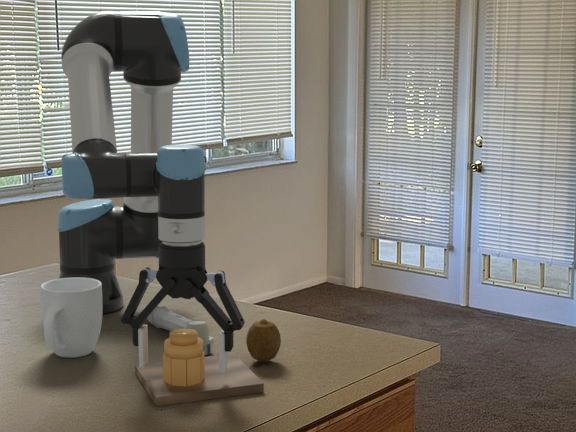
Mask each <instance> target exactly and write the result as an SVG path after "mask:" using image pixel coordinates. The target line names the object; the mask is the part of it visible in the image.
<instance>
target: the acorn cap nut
mask: <svg viewBox="0 0 576 432" xmlns="http://www.w3.org/2000/svg"><path fill="white" fill-rule="evenodd" d="M163 344H164V347H163V348H164V351H163V354H162V362H163V380H164V381H165V382H166V383H168V384H170V385H173V386H191V385H195V384H199V383H201V382H202V381H203V379H204V378H205V359H204V357H205V355H204V351H203V340H202V339H201V338H199V337H198V332H197V331H196V330H193V329H176V330H173V331H169V337H168V338H166V339H165V340H164V341H163Z"/></svg>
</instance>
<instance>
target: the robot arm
mask: <svg viewBox="0 0 576 432" xmlns="http://www.w3.org/2000/svg"><path fill="white" fill-rule="evenodd" d="M60 61H61V67H62V72H63V73H64V74H65V76H66V77H67V84H68V100H69V116H70V117H69V118H70V134H71V135H70V137H71V152H72V153H65V154H63V155H62V156H61V180H62V183H61V184H62V192H63V196H64V197H66V198H68V199H77V200H78V199H83V201H81V200H80V201H78V202H73V203H71V204H68V205H65V206H64V207H62V208H61V209H60V210H59V212H58V220H57V221H58V222H57V223H58V226H57V232H58V242H59V243H58V244H59V246H58V247H59V248H58V249H59V250H58V251H59V276H58V279H61V278H73V277H80V278H92V279H96V280H99V281H100V282H101V284H102V305H103V310H102V313H103V314H102V315H104V314H108V313H110V314H111V313H114V312H116V311H118V310H120V309H122V308H123V306H124V295H123V290H122V289H121V285H120V282H119V280H118V277H117V274H116V272H115V271H116V270H115V260H121V259H123V260H124V259H125V260H127V259H128V260H129V259H147V258H149V259H150V258H152V259H153V258H155V259H158V270H155V269H151V268H150V267H148V266H147V267H144V268H143V269H141V270H140V271H139V275H138V283H137V285H136V288H135V290H134V292H133V294H132V295H131V298H130V299H129V302H128V304H127V307H126V308H125V311H124V312H123V314H122V317H121V319H120V322H121V323H122V324H123V325H129V326H130V327H131V328H132V344H133V346H134V347H138V365H139V367H144V366H145V365H146V364H148V363H149V335H148V331H149V330H148V329H149V328H148V324H144V322H145V321H147V317H148V316H149V315H150V314H151V313H152V311H153V310H154V309H155V308H156V307H157V306H159V305H160V303H162V301H163V300H164V299H165V298H166V297H167V296H169V297H171V299H180V298H181V299H185V300H191V299H195V300H196V301H197V302H198V303H199V304H201V306H203V308H204V310H206V311H207V313H208V314H209V315H210V316H211V318H212V319H213V320H214V321H215V322H216V324H217V325H218V326H219V328H220V329H221V331H220V332H219V334H218V338H219V339H218V340H219V341H218V342H219V343H218V349H219V352H218V353H219V354H218V355H219V372H225V370H226V368H227V354H228V353H229V352H230V353H231V351H232V350H233V348H234V332H235V331H240V330H242V328H243V327H244V325H245V319H244V318H243V315H242V313H241V311H240V309H239V308H238V305H237V303H236V301H235V299H234V297H233V295H232V293H231V291H230V288H229V287H228V285H227V282H226V273H225V271H223V270H219V271H218V272H210V273H209V272H207V269H206V243H205V242H204V241H203V240H205V238H206V216H205V212H206V210H205V198H206V197H205V196H206V195H205V189H206V188H205V178H206V176H205V174H206V170H207V169H206V167H207V165H206V164H205V153H204V152H205V151H204V149H203V148H202V147H201V146H199V145H194V144H173V116H174V115H173V112H174V111H173V108H174V103H173V102H174V88H175V87H176V86H177V85H179V84H180V82H181V81H182V73H185V72H188V71H189V70H190V50H189V41H188V37H187V30H186V26H185V23H184V20H183V19H182V17H181V16H180V15H179V14H177V13H172V12H163V11H159V10H158V11H113V10H104V11H99V12H95V13H93V14H91V15H89V16H87V17H85V18H84V19H82V20H80V22H79V23H77V24H76V25H75V26H74V27H73V29H72V30H71V31H70V32H69V34H68V36H67V37H66V39H65V41H64V44H63V46H62V51H61V60H60ZM113 71H114V72H123V75H122V76H123V80H124V82H126V84H127V85H128V86H130V152H118V149H117V148H118V147H117V138H116V131H115V128H116V127H115V121H114V120H115V119H114V110H113V103H112V101H113V100H112V91H111V83H110V81H111V80H110V75H111V74H112V73H113ZM114 198H115V199H116V198H123V205H114V204H115V203H114V202H113V200H112V199H114ZM154 279H156V280H157V282H158V283H159V285H160V286H161V288H160V289H159V291H158V292H157V293H156V294H155V296H154V297H153V298H152V299H151V300H150V301H149V302H148V304H147V305H146V306H145V308H144V309H142V311H141V312H140V313H139V314H138V315H137V316H135V314H136V312H137V309H138V308H139V306H140V304H141V301H142V299H143V297H144V296H145V293H146V291H147V289H148V287H149V284H151V283H152V282H154ZM208 281H209V282H210V283H211V284H210V285H212V286H213V287H215V289H216V292H217V294H218V297H219V299H220V302H222V305H223V307H224V309H225V311H226V313H227V314H226V313H225V312H224V311H223V309H222V308H221V307H220V305H219V304H217V302H216V300H214V298H213V297H212V296H211V295H210V292H209V291H208V289H207V288H206V287H205V285H206V283H207V282H208Z"/></svg>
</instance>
